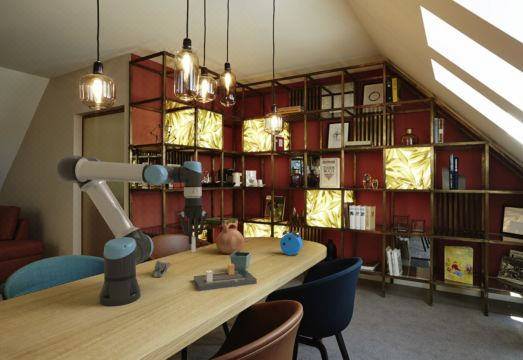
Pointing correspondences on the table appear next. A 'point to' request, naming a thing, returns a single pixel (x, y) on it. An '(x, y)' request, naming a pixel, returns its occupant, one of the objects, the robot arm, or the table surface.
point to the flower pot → (240, 260)
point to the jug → (229, 239)
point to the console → (225, 280)
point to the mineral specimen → (160, 268)
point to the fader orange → (231, 269)
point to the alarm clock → (291, 243)
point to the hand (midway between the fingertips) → (193, 251)
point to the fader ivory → (209, 276)
